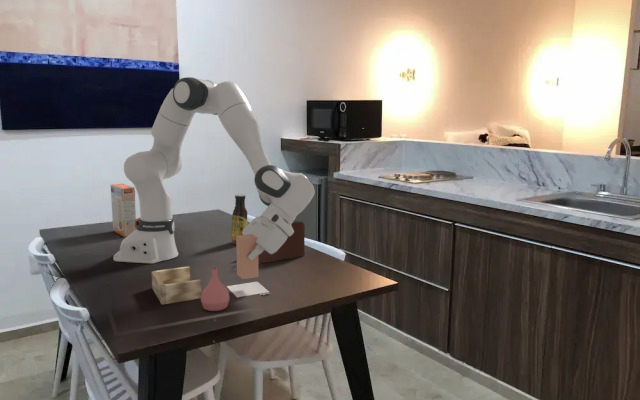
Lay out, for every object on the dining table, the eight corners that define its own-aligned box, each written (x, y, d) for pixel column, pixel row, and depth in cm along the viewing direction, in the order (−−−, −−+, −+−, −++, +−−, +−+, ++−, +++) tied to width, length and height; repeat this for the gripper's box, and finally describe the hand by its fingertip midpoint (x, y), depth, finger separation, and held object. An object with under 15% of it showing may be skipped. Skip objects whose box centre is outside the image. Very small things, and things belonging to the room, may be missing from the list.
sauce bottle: (228, 244, 205) (227, 195, 201) (236, 240, 211) (236, 193, 207) (242, 245, 203) (242, 196, 199) (250, 242, 208) (250, 194, 205)
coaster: (237, 299, 146) (237, 297, 146) (226, 288, 155) (226, 286, 155) (269, 294, 151) (269, 291, 151) (257, 283, 160) (257, 281, 160)
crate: (161, 307, 140) (160, 286, 139) (152, 290, 153) (151, 271, 152) (201, 300, 146) (201, 280, 145) (189, 284, 158) (188, 266, 157)
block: (242, 279, 149) (241, 239, 147) (237, 274, 153) (236, 235, 151) (258, 276, 151) (258, 237, 149) (252, 272, 155) (252, 234, 153)
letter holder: (305, 256, 190) (305, 219, 188) (257, 264, 179) (257, 226, 177) (291, 250, 198) (291, 214, 196) (245, 257, 188) (244, 220, 185)
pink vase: (204, 318, 134) (203, 274, 131) (198, 307, 140) (196, 266, 138) (233, 313, 137) (232, 270, 135) (225, 303, 144) (224, 262, 141)
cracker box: (137, 235, 216) (135, 187, 212) (123, 237, 212) (120, 188, 209) (126, 229, 227) (123, 182, 223) (112, 231, 223) (109, 184, 219)
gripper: (256, 207, 161) (227, 240, 158) (282, 220, 143) (250, 258, 141) (269, 219, 164) (241, 252, 161) (296, 233, 146) (265, 271, 143)
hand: (245, 255), depth 151 cm, fingers closed on block, 5 cm apart
